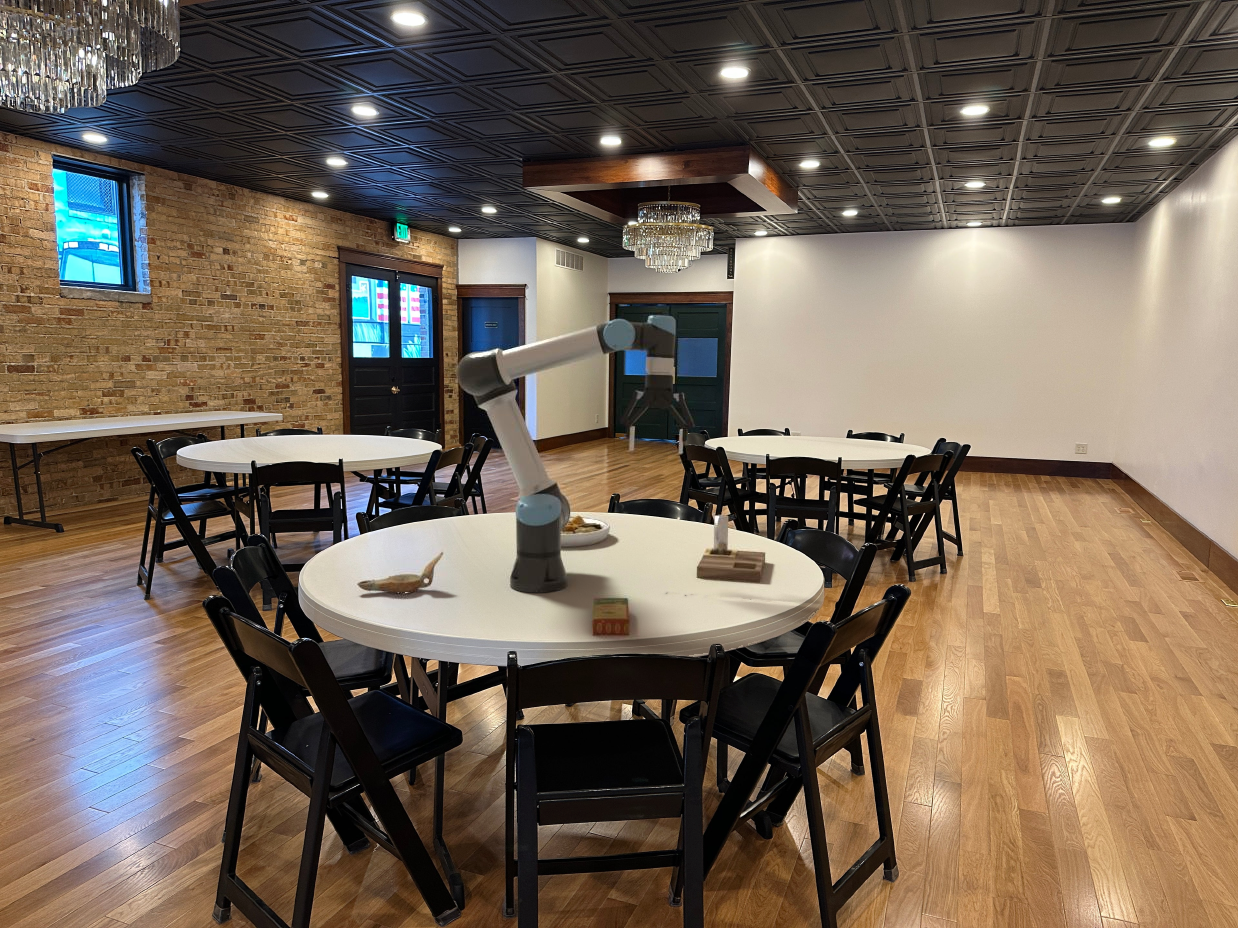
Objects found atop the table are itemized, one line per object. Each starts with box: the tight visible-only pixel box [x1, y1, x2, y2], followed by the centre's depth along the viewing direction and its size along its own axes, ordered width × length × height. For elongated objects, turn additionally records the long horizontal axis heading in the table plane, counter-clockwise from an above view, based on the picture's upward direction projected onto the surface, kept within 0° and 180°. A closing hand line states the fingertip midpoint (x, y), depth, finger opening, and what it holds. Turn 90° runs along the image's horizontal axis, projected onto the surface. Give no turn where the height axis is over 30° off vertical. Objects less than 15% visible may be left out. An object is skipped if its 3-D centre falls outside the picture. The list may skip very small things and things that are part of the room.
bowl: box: [561, 515, 611, 548], centre depth 268 cm, size 30×30×8 cm
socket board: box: [696, 547, 766, 583], centre depth 226 cm, size 22×17×4 cm
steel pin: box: [713, 514, 729, 555], centre depth 232 cm, size 4×4×14 cm
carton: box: [591, 597, 630, 637], centre depth 182 cm, size 8×16×4 cm, turn 0°
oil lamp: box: [357, 551, 444, 594], centre depth 205 cm, size 9×21×10 cm, turn 104°
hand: (655, 452), depth 219 cm, fingers open, 13 cm apart
